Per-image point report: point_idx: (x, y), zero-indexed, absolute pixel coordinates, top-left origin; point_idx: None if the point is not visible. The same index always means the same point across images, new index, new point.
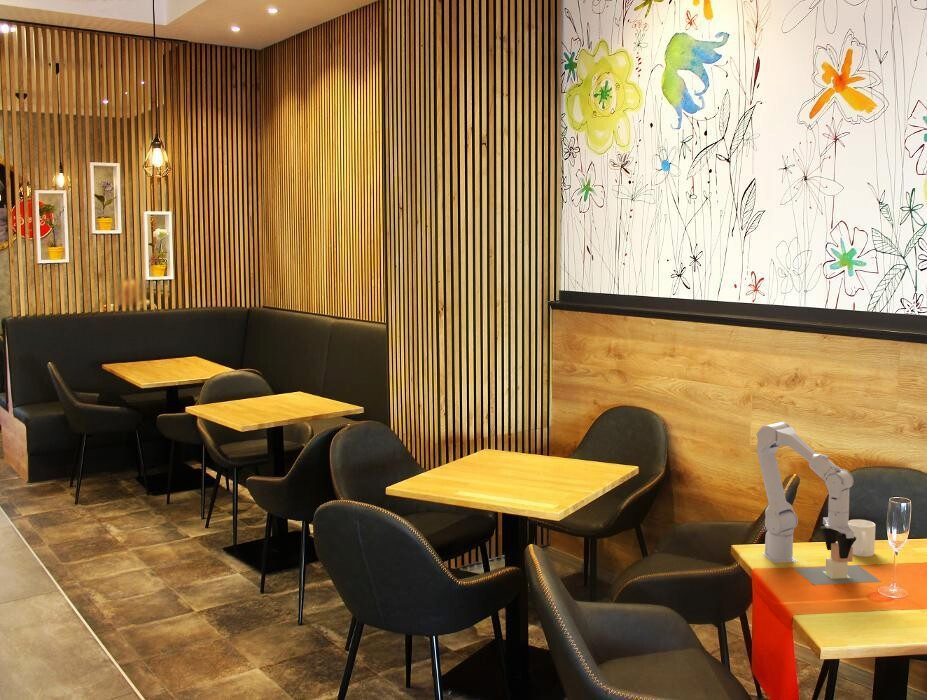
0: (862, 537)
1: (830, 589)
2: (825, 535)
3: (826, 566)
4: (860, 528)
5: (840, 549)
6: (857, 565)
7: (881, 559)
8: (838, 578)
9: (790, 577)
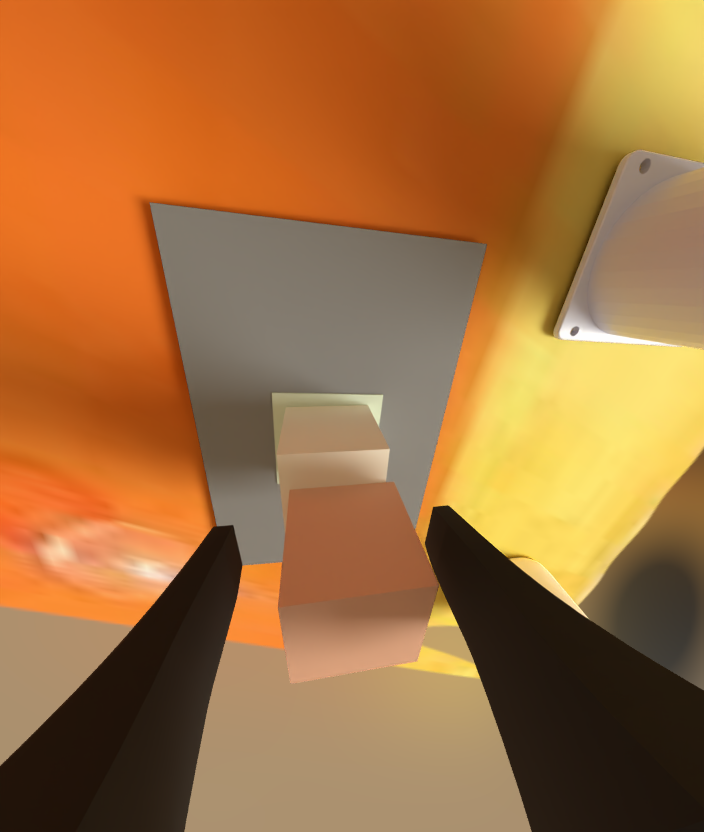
0: None
1: (110, 307)
2: (551, 648)
3: (368, 421)
4: None
5: (139, 625)
6: None
7: (440, 611)
8: (274, 428)
9: (363, 119)
